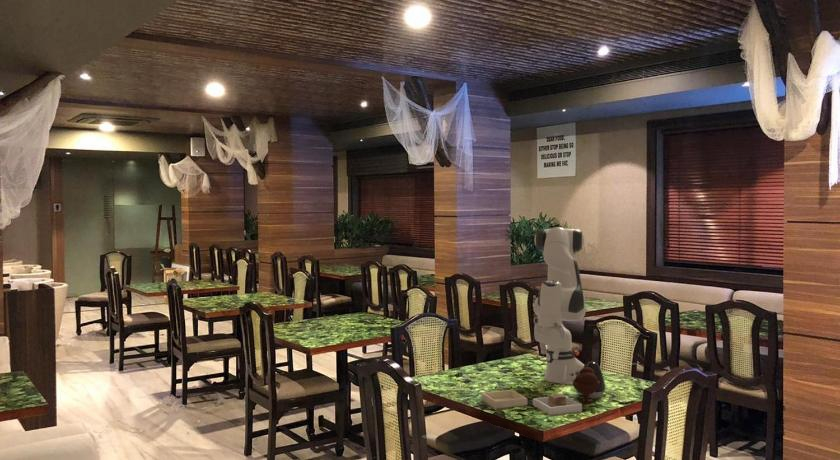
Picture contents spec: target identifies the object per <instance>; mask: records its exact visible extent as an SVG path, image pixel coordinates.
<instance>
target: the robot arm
mask: <svg viewBox="0 0 840 460" xmlns="http://www.w3.org/2000/svg"><path fill="white" fill-rule="evenodd" d="M584 244H585V236H584V234H583V231H582V230H581V229H578V228H567V227H558V226H556V227H552V228H540V229H538V230H537V231H536V233H535V235H534V245H535V248H536V249H537V250H538V251H539V252H543V260H544V262H545V264H546V265H547V280H544V281H542V283H541V287H540V290H539V291H538V292H537V297H536V299H535V300H534V302H533V312H534V314H535V315H536V316H537V317H534V318H533V323H534V328H533V329H534V330H533V332H534V333H533V337H534V340H535V342H537V343H539V347H540V353H541V354H542V355H546V358H545V359H546V368H545V373H544V377H543V380H544V381H545V382H549V383H554V384H555V383H556V384H565V385H573V380H574V379H575V378H576V376H577V375H578V374H580V370H581V369H582V368H584V365H585V364H584V363H583V362H582V361H580V360H579V359H578V358H577V357H578V356H579V355H580V352H579V351H578V350H574V349H572V334H571V331H570V330H569V329H567V328H566V326H565V325H564V324H563V322H564V321H565V322H579V321H582V319H583V318H584V317H585V315H586V312H587V311H586V310H587V309H586V297H585V294H584V291H583V286H582V281H581V275H580V274H581V273H580V269H579V268H580V267H579V264H578V261H577V259H576V258H575V257H573V256H572V253H573V255H576V253H578V252H580V251H581V250H582V249H583V248H584ZM546 346H547V347H546ZM576 356H577V357H576Z"/></svg>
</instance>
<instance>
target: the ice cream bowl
mask: <svg viewBox="0 0 840 460" xmlns="http://www.w3.org/2000/svg"><path fill="white" fill-rule="evenodd" d="M599 384H600V382H599V381H598V380H597V377H596V376H595V373H594V370H593V369H592V368H590V367H584V368H582V369H581V370H580V374H578V375H577V376H576V378H575V379H574V380H573V384H572V385H573V388H574V389H575V391H577V392H578V393H579V394H582V396H583V400H581V401H580V404H582V405H591V404H593V402H592V401H591V400H589V397H588V396H589V394H592V393H594V392H595V391H596V390H597V389H598V387H599Z"/></svg>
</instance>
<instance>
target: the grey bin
mask: <svg viewBox="0 0 840 460" xmlns="http://www.w3.org/2000/svg"><path fill="white" fill-rule="evenodd" d="M532 406H533V407H536V408H537V409H539V410H540V411H542V412H544V413H546V414H547V415H549V416H554V415H561V414H563V415H564V414H570V413H571V414H572V413H579V412H583V403H581V402H579V401H576V400H574V399H573V398H570V397H568V396H566V406H557V407H550V406H548V396H544V397H543V396H542V397H535V398H534V397H533V398H532Z"/></svg>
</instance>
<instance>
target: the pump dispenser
mask: <svg viewBox="0 0 840 460" xmlns="http://www.w3.org/2000/svg"><path fill="white" fill-rule="evenodd" d="M584 367H590V368H592V369H593V370H594V373H595V376H596V377H597V380H598V381H599V382H600V384H599V387H598V389H597V390H596V391H595V392H594V393H592V394H589V396H588V399H592V400H597V399H600V398H601V397H603V395H604V393H605V391H606V384H605V379H604V374H603V371H602V369H601V367H600V365H599V364H598V363H597V362H596V361H589V362H588V363H586V365H585V364H584Z"/></svg>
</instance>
